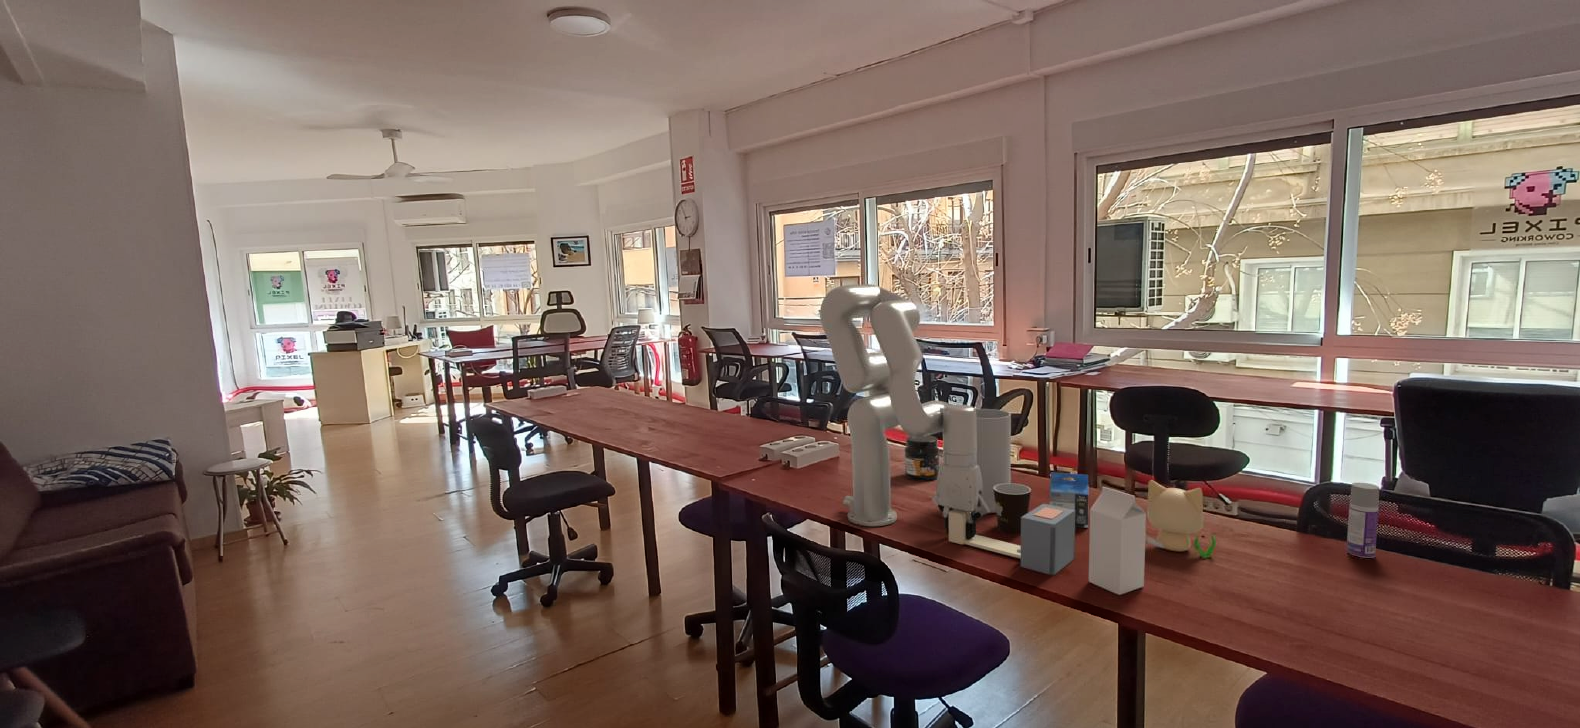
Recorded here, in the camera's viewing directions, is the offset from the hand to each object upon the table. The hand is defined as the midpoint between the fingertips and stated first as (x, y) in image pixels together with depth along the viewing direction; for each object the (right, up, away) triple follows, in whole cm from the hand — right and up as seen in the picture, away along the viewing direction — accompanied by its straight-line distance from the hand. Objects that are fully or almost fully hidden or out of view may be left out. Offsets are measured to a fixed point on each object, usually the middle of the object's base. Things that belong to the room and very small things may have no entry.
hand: (960, 534), depth 162 cm
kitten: (+45, -1, -9) cm, 46 cm away
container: (+81, -1, -15) cm, 82 cm away
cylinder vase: (+12, +2, +23) cm, 26 cm away
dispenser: (+15, -3, -14) cm, 21 cm away
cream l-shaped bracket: (+5, -1, -5) cm, 7 cm away
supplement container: (+1, +5, +51) cm, 51 cm away
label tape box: (+28, 0, +8) cm, 29 cm away
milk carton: (+24, -4, -25) cm, 35 cm away
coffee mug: (+14, 0, +7) cm, 16 cm away
